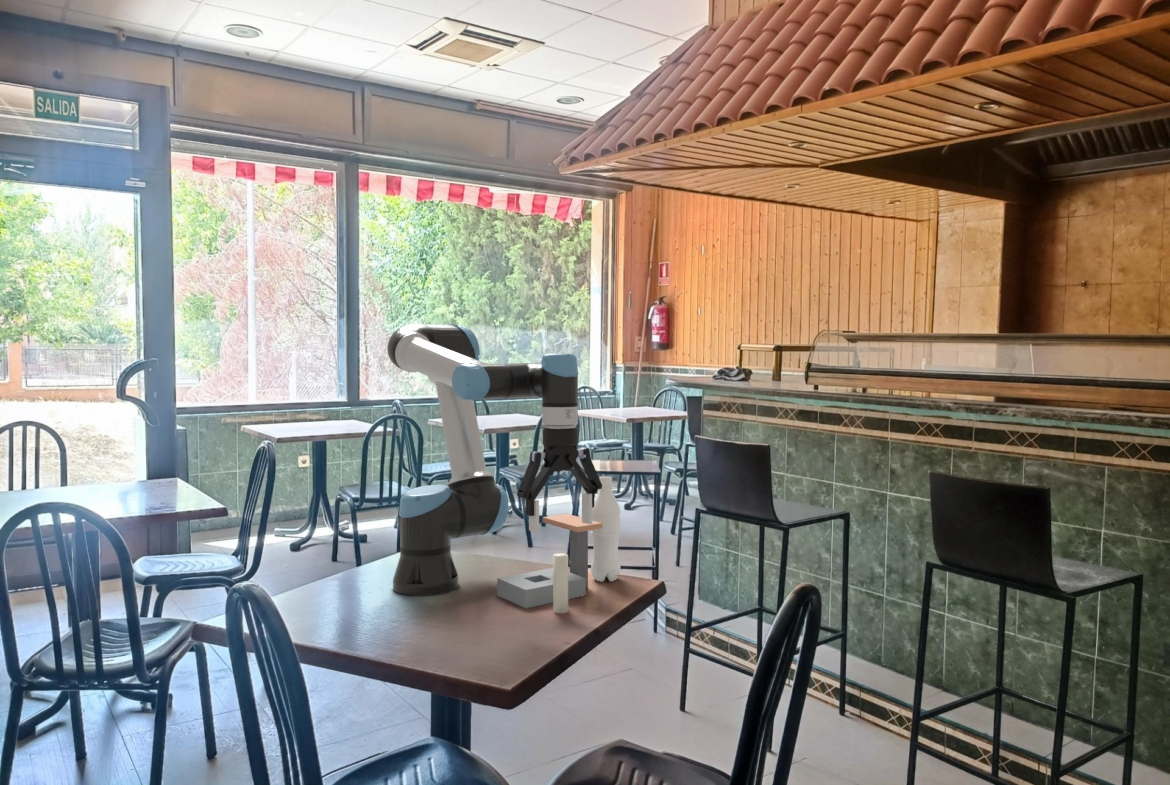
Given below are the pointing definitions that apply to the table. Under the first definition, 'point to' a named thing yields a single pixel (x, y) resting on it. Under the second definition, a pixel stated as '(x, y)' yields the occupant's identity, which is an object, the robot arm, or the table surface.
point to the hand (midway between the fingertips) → (561, 527)
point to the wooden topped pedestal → (575, 540)
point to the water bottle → (606, 533)
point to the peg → (560, 583)
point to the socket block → (536, 587)
